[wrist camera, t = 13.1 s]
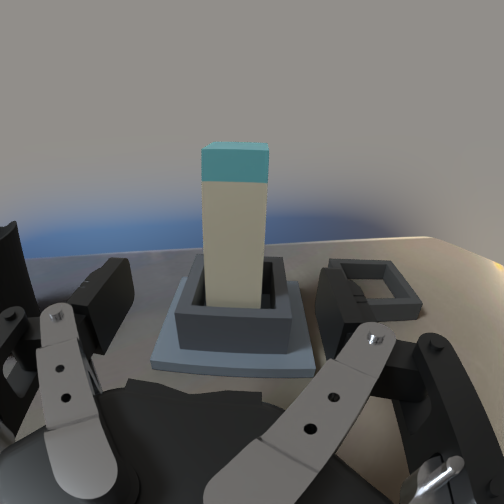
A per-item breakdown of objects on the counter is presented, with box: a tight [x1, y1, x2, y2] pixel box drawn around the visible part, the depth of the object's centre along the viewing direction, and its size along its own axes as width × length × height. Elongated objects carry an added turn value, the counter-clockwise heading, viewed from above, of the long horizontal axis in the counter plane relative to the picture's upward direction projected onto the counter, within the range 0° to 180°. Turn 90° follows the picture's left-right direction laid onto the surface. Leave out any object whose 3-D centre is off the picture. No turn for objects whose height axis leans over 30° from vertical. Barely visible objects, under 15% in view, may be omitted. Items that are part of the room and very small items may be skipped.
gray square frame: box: [328, 259, 423, 322], centre depth 30 cm, size 8×9×2 cm
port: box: [150, 254, 316, 378], centre depth 25 cm, size 12×12×4 cm
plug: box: [202, 142, 269, 309], centre depth 22 cm, size 4×5×14 cm
